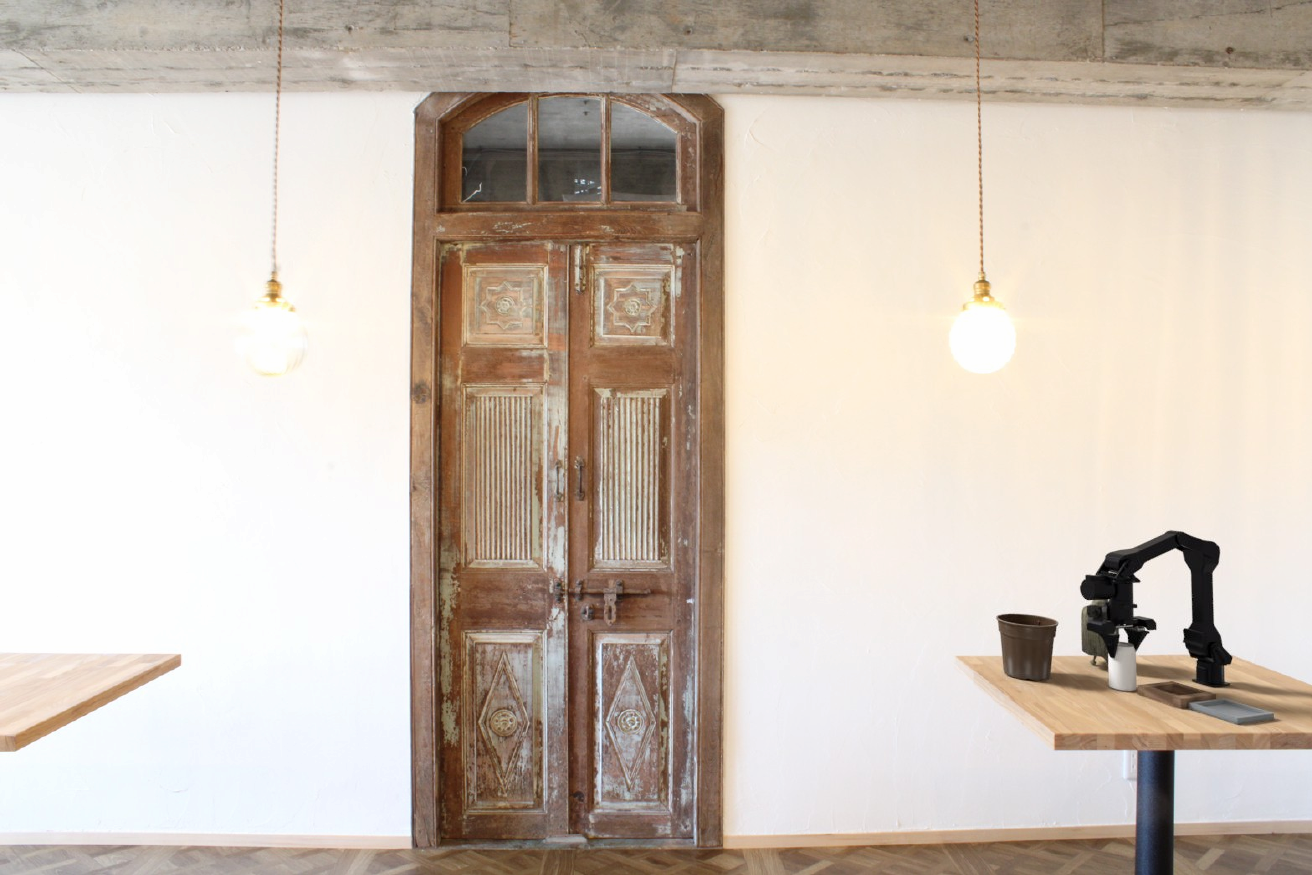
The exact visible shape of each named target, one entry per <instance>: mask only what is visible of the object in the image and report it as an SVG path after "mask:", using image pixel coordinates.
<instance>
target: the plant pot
mask: <svg viewBox="0 0 1312 875" xmlns="http://www.w3.org/2000/svg"><path fill="white" fill-rule="evenodd" d="M995 619H996V620H997V625H998V631H999V634H1000V645H1001V655H1002V665H1003V666H1002V667H1003V672H1004V675H1007V676H1008V677H1011V678H1014V679H1018V680H1023V681H1025V680H1028V679H1029V680H1031V681H1035V682H1037V681H1038V682H1039V681H1042V682H1043V681H1047V680H1049V679H1051V672H1052V664H1053V663H1052V661H1053V652H1054V643H1055V642H1054V641H1055V638H1056V634H1057V629H1058V628H1057V627H1058V625H1059V621H1057V620H1056V619H1054V618H1050V617H1046V616H1041V615H1036V614H1027V613H1026V614H1025V613H1002V614H1001V613H1000V614H997V615H996V617H995Z"/></svg>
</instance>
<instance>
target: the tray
mask: <svg viewBox="0 0 1312 875" xmlns="http://www.w3.org/2000/svg"><path fill="white" fill-rule="evenodd" d="M1188 710H1191V711H1193V712H1197V713H1201V714H1203V715H1206V716H1209V717H1213V718H1215V719H1219V720H1222V721H1224V722H1228V723H1231V724H1233V723H1234V724H1233V725H1236V726H1237V725H1245V723H1246V724H1252V723H1259V722H1265V721H1266V722H1267V721H1272V719H1274V720H1275V713H1274V712H1271V711H1269V710H1265V709H1261V708H1258V707H1255V706H1251V705H1249V704H1248V705H1247V704H1244V703H1241V702H1238V701H1235V700H1232V699H1228V698H1226V697H1222V698H1221V697H1220V698H1216V699H1213V700H1206V701H1198V702H1190V703H1189V708H1188Z"/></svg>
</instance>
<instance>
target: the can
mask: <svg viewBox="0 0 1312 875" xmlns="http://www.w3.org/2000/svg"><path fill="white" fill-rule="evenodd" d="M1107 667H1108V668H1109V671H1108V687H1110V689H1112V690H1115V691H1120V692H1125V693H1126V692H1127V693H1128V692H1135V691H1137V690H1138V684H1137V682H1138V680H1137V651H1135V649H1134V645H1133V644H1131V643H1128V642H1126V641H1119V642H1118V646H1117V651H1116V655H1115V658H1111V657H1110V656H1109V653H1108V665H1107Z"/></svg>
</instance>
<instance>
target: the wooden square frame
mask: <svg viewBox="0 0 1312 875" xmlns="http://www.w3.org/2000/svg"><path fill="white" fill-rule="evenodd" d="M1137 696H1141V697H1143V698H1147V699H1149V700H1153V701H1156V702H1158V703H1162V704H1165V705H1168V706H1171V707H1173V708H1177V709H1180V710H1183V709H1184V710H1185V709H1189V703H1190V702H1198V701H1206V700H1213V699H1217V694H1216V693H1213V692H1210V691H1206V690H1203V689H1199V688H1197V687H1193V686H1189V685H1186V684H1182V683H1179V682H1177V681H1173V680H1170V681H1160V682H1154V683H1153V682H1152V683H1144V684H1137Z"/></svg>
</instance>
